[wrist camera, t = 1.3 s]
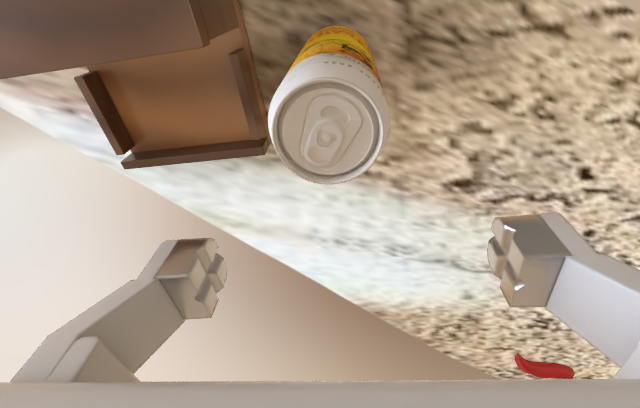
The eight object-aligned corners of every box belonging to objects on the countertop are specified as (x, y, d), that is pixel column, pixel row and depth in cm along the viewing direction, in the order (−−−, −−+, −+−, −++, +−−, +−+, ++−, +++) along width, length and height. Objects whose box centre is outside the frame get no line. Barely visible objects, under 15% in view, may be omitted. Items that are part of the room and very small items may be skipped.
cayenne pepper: (505, 359, 51) (510, 371, 49) (530, 346, 49) (536, 359, 47) (553, 383, 54) (560, 395, 53) (580, 373, 52) (587, 385, 50)
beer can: (384, 42, 26) (418, 100, 14) (353, 110, 29) (359, 205, 17) (314, 11, 25) (284, 44, 13) (291, 85, 28) (250, 167, 16)
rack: (54, -23, 25) (-71, -23, 17) (224, -57, 23) (165, -74, 16) (143, 153, 34) (84, 204, 26) (272, 139, 32) (249, 189, 24)
